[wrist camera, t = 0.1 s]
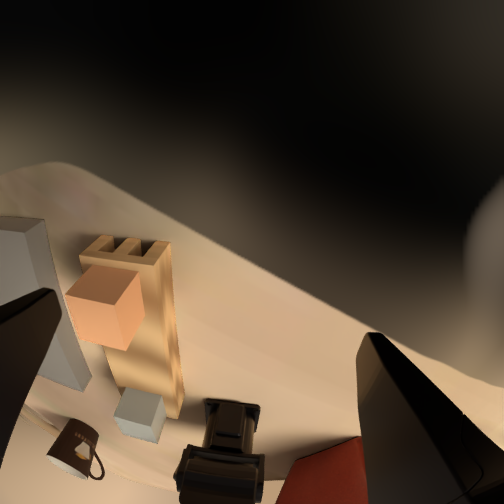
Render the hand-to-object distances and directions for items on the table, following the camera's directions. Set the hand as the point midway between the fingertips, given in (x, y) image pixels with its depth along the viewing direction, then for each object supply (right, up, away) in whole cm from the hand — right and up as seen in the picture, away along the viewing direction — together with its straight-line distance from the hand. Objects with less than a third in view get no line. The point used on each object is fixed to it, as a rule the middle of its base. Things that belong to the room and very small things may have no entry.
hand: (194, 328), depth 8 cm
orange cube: (-9, -1, +14) cm, 16 cm away
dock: (-25, -4, +21) cm, 33 cm away
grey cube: (-10, -14, +20) cm, 27 cm away
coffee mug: (-30, -33, +36) cm, 58 cm away
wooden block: (-9, -6, +21) cm, 23 cm away
